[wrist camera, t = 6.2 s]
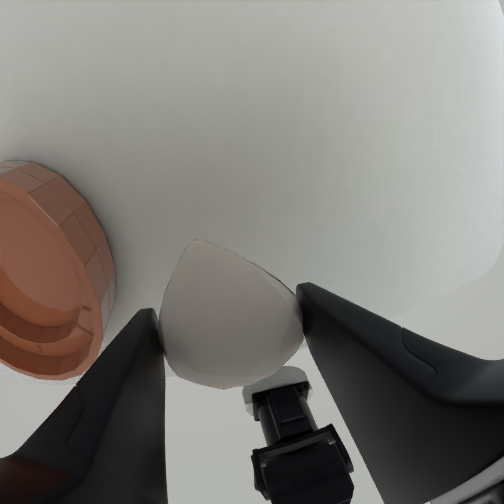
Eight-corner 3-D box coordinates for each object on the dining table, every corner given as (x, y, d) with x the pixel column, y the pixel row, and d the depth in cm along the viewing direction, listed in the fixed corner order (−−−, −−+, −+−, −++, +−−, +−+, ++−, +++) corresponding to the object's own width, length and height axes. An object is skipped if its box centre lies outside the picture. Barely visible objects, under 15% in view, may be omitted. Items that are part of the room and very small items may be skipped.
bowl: (142, 335, 20) (136, 380, 16) (9, 341, 17) (-7, 374, 13) (88, 131, 13) (54, 136, 9) (-52, 192, 10) (-85, 211, 6)
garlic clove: (186, 359, 10) (190, 415, 7) (123, 245, 7) (101, 296, 5) (295, 326, 10) (320, 376, 8) (269, 198, 8) (302, 232, 5)
